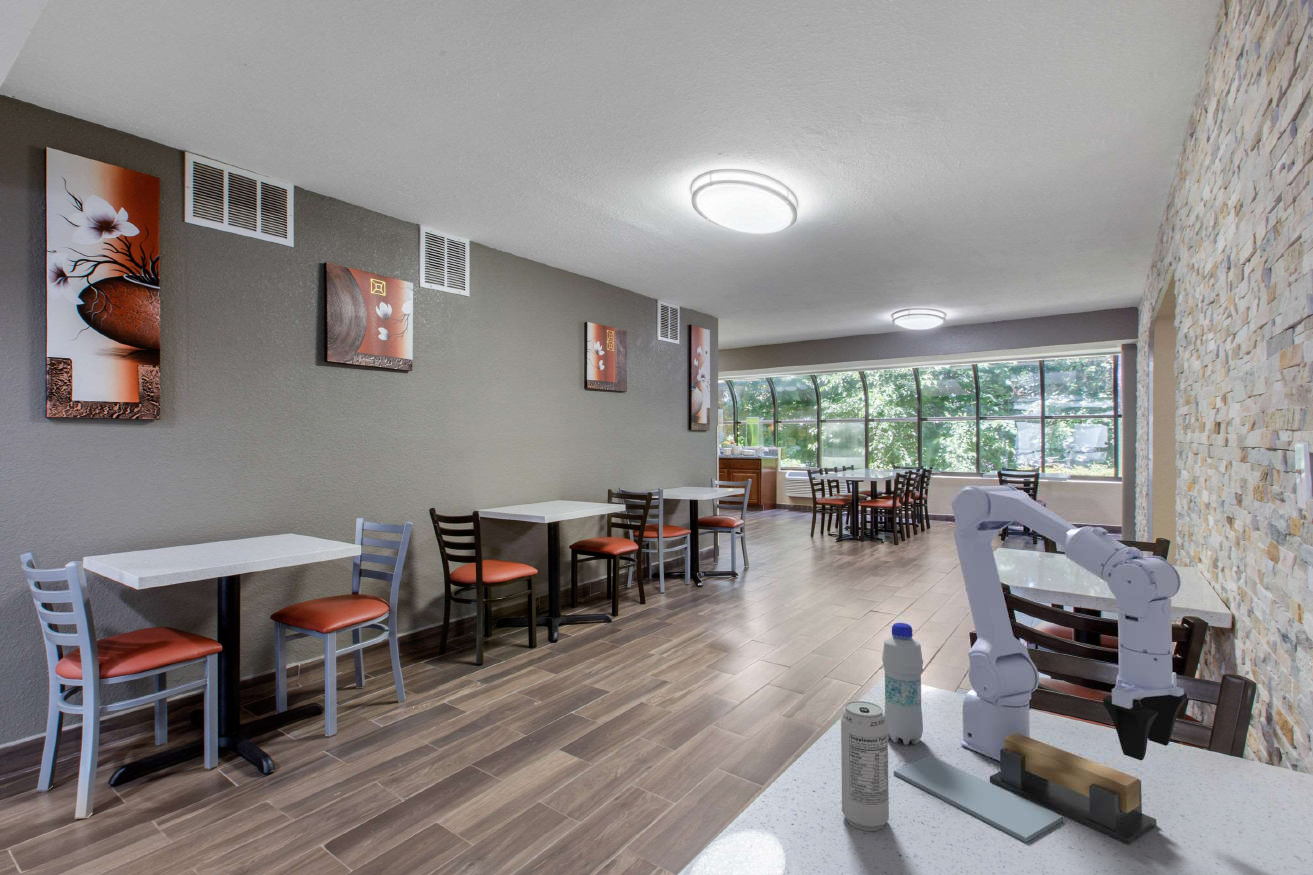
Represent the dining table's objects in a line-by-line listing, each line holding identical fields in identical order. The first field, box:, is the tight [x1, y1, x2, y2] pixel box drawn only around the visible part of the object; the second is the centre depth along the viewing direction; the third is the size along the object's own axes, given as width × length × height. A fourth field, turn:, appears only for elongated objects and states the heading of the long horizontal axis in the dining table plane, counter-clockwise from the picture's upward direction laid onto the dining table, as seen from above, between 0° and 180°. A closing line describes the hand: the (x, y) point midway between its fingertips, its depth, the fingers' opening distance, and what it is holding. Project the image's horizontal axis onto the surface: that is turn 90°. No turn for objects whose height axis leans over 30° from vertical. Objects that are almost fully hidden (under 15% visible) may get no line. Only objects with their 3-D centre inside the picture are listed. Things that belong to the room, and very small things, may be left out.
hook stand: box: [989, 748, 1157, 845], centre depth 89 cm, size 18×8×5 cm, turn 31°
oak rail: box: [1004, 733, 1140, 813], centre depth 89 cm, size 16×4×4 cm, turn 31°
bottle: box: [881, 622, 924, 746], centre depth 109 cm, size 7×7×20 cm
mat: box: [893, 755, 1064, 843], centre depth 91 cm, size 20×9×1 cm, turn 31°
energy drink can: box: [840, 700, 890, 832], centre depth 85 cm, size 6×6×15 cm
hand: (1146, 749), depth 84 cm, fingers open, 7 cm apart
